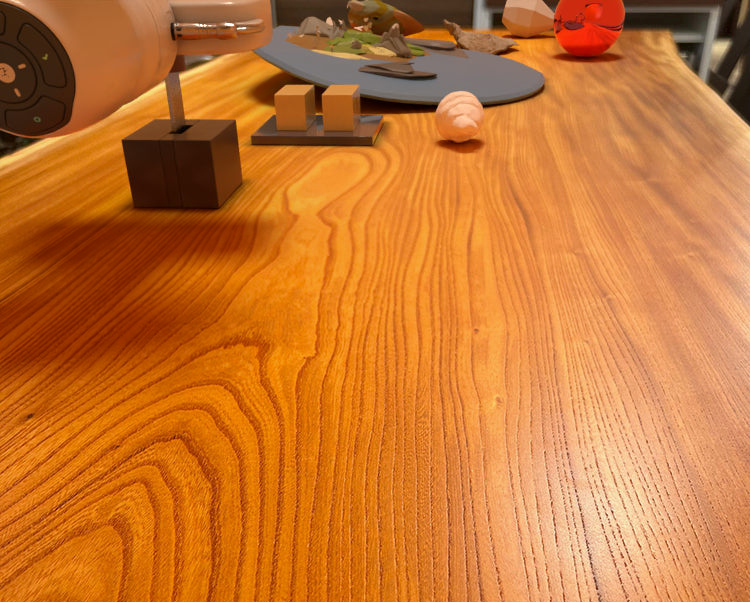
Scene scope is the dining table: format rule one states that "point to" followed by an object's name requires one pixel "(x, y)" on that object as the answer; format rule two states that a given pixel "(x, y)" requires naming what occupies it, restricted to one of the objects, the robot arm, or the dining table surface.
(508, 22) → the faceted beige polyhedron
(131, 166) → the brown slotted box
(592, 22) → the ball
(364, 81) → the serving platter
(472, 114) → the peach ridged curved piece
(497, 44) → the coral
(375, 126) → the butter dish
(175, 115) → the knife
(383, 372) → the dining table surface
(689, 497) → the dining table surface
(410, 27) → the decorative fish sculpture
